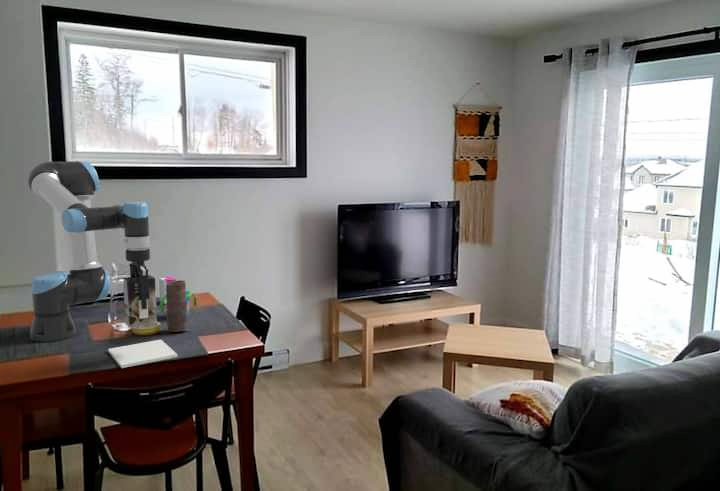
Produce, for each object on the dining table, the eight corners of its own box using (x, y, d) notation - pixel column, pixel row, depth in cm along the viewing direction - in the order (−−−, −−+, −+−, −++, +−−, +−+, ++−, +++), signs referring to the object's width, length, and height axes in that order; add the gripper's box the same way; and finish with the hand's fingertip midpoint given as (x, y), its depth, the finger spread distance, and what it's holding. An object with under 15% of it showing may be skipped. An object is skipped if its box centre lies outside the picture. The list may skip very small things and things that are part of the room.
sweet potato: (181, 335, 213) (179, 284, 210) (163, 333, 214) (161, 282, 211) (191, 329, 220) (189, 279, 217) (174, 327, 222) (172, 278, 218)
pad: (108, 351, 194) (108, 348, 194) (161, 342, 205) (161, 339, 205) (121, 368, 180) (121, 365, 180) (177, 357, 191) (177, 354, 190)
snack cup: (192, 310, 245) (192, 288, 244) (201, 316, 237) (200, 293, 235) (156, 316, 236) (155, 292, 234) (164, 322, 228) (163, 298, 226)
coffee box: (129, 328, 185) (127, 280, 183) (124, 323, 190) (122, 277, 188) (157, 323, 191) (155, 277, 188) (152, 319, 196) (150, 274, 193)
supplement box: (164, 305, 253) (163, 280, 251) (159, 302, 257) (158, 278, 256) (177, 303, 257) (176, 278, 255) (171, 300, 261) (170, 276, 259)
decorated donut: (158, 326, 224) (158, 317, 223) (162, 334, 214) (162, 324, 214) (130, 329, 219) (130, 320, 218) (133, 337, 209) (133, 328, 209)
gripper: (118, 245, 192) (122, 310, 196) (133, 254, 176) (137, 324, 180) (141, 243, 196) (144, 307, 200) (157, 251, 181) (160, 320, 185)
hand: (140, 315), depth 190 cm, fingers closed on coffee box, 6 cm apart
